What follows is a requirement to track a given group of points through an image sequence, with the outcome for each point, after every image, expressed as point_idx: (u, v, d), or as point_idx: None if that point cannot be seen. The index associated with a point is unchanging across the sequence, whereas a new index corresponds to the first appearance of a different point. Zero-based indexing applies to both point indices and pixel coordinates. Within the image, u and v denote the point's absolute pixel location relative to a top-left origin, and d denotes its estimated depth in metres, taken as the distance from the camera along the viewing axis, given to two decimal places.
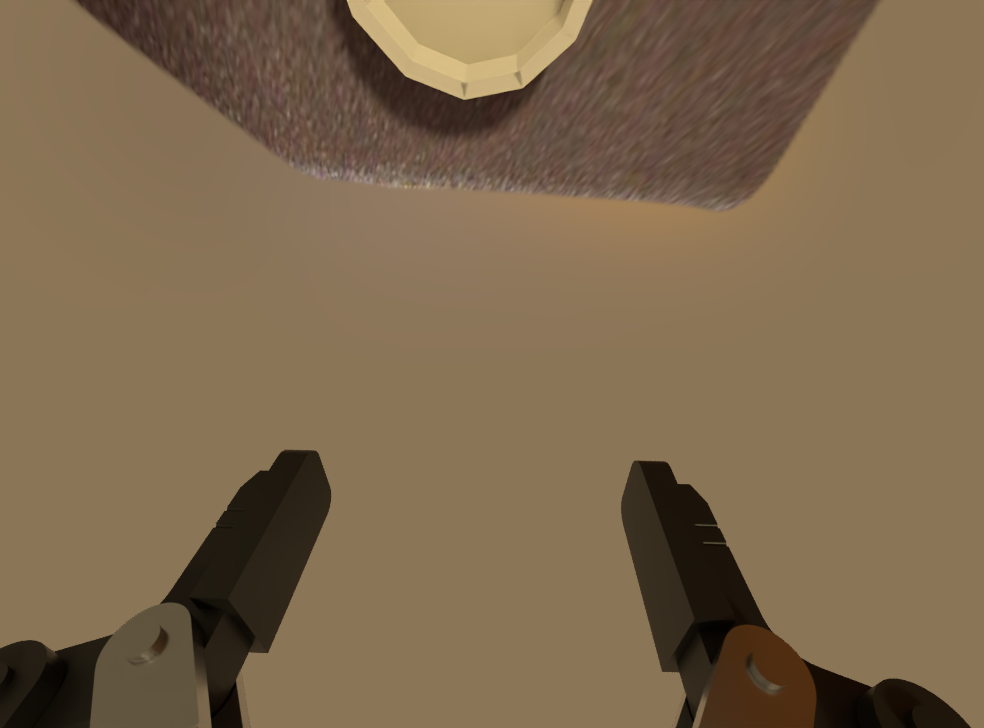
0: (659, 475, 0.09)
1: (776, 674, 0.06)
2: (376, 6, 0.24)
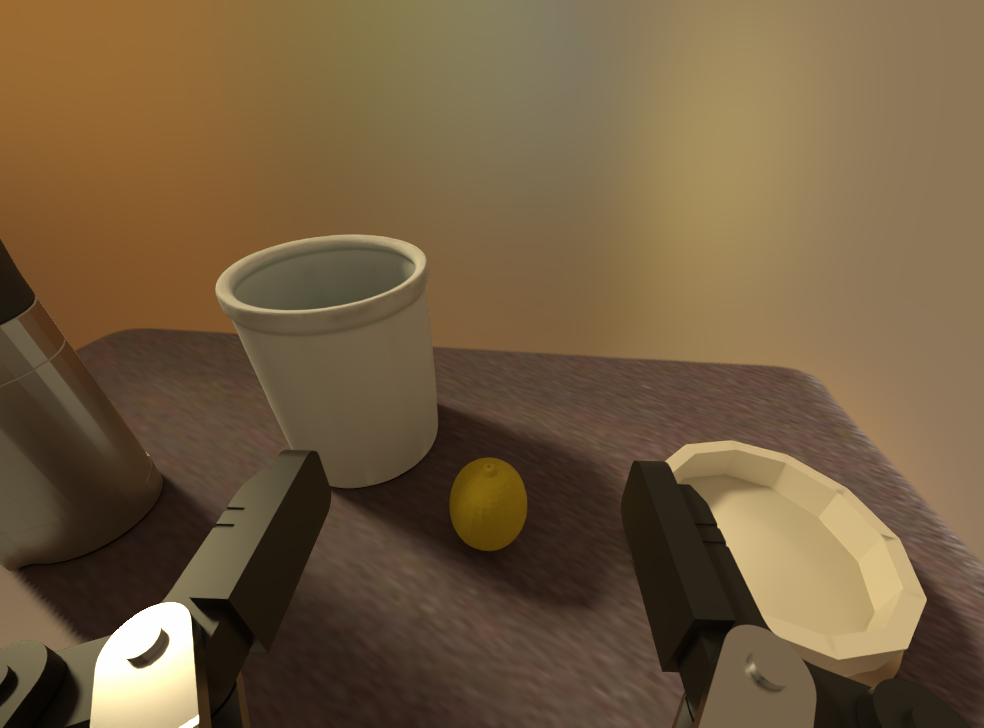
0: (659, 475, 0.09)
1: (776, 674, 0.06)
2: None
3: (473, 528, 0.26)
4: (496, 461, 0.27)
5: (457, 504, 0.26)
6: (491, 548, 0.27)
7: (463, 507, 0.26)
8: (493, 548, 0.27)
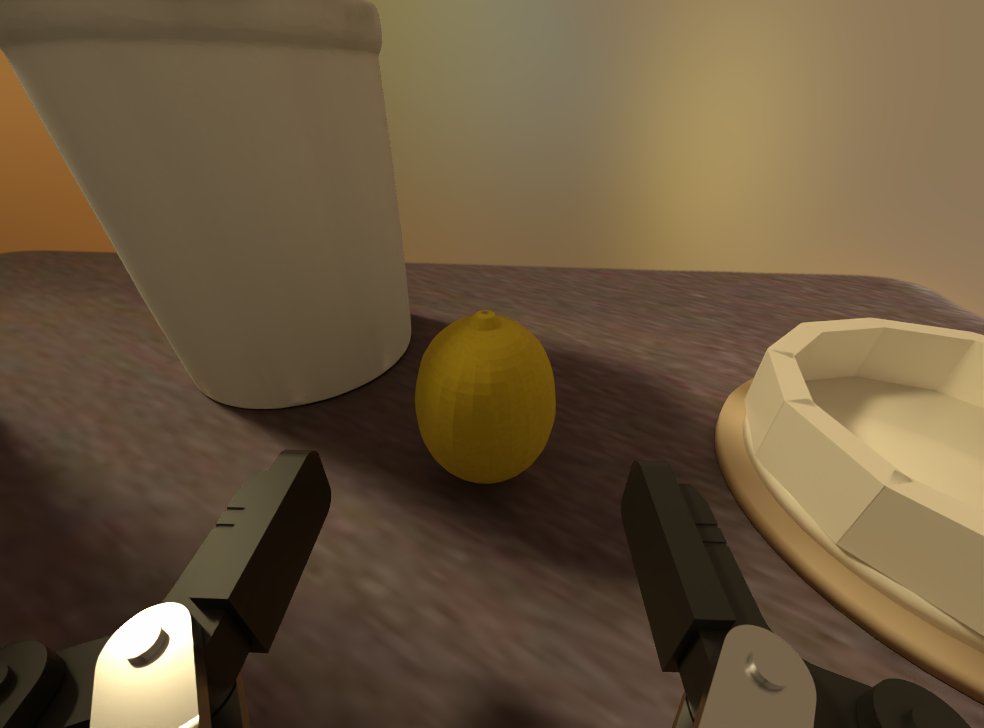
0: (659, 475, 0.09)
1: (776, 674, 0.06)
2: None
3: (457, 428, 0.13)
4: (499, 315, 0.15)
5: (425, 386, 0.14)
6: (492, 473, 0.14)
7: (438, 388, 0.13)
8: (496, 474, 0.15)
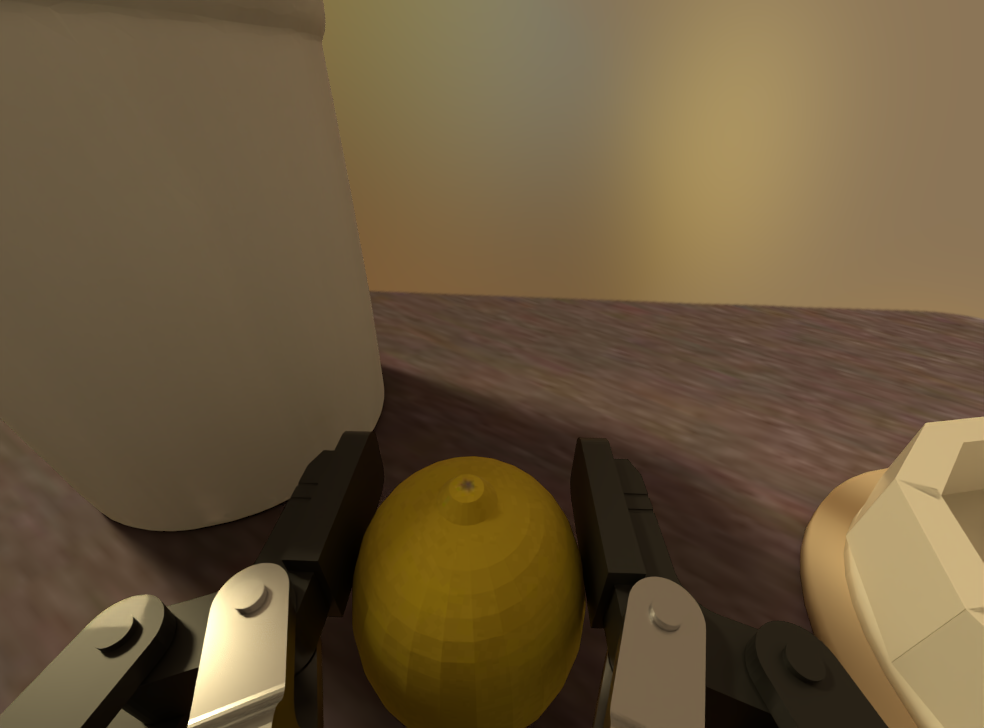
0: (597, 450, 0.10)
1: (672, 616, 0.06)
2: None
3: (414, 705, 0.07)
4: (493, 467, 0.09)
5: (361, 614, 0.08)
6: None
7: (379, 632, 0.07)
8: None
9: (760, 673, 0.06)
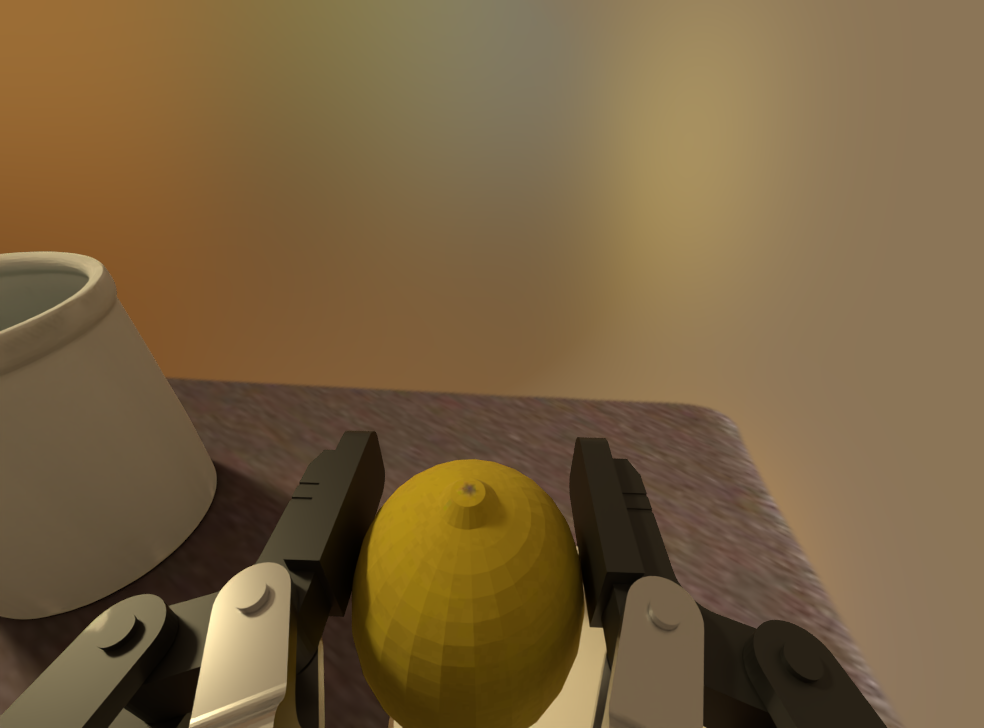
0: (596, 449, 0.10)
1: (670, 615, 0.06)
2: None
3: (413, 708, 0.07)
4: (493, 471, 0.09)
5: (361, 616, 0.08)
6: None
7: (380, 635, 0.07)
8: None
9: (758, 672, 0.06)
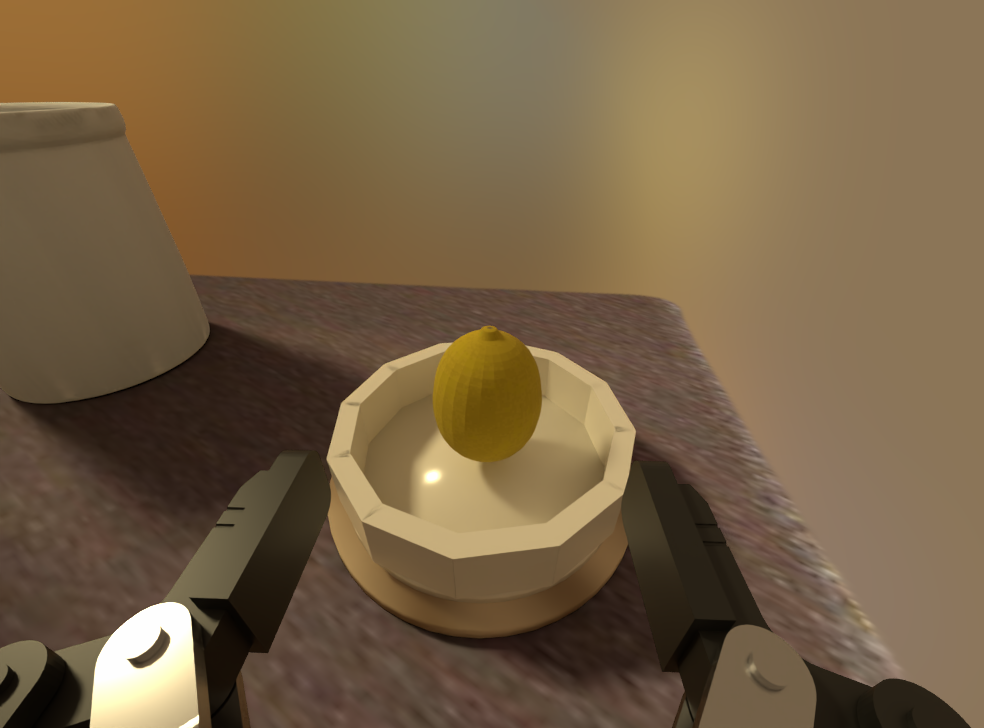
0: (659, 475, 0.09)
1: (776, 674, 0.06)
2: None
3: (468, 414, 0.18)
4: (498, 330, 0.20)
5: (444, 383, 0.18)
6: (493, 451, 0.19)
7: (454, 384, 0.18)
8: (496, 451, 0.19)
9: (875, 727, 0.06)
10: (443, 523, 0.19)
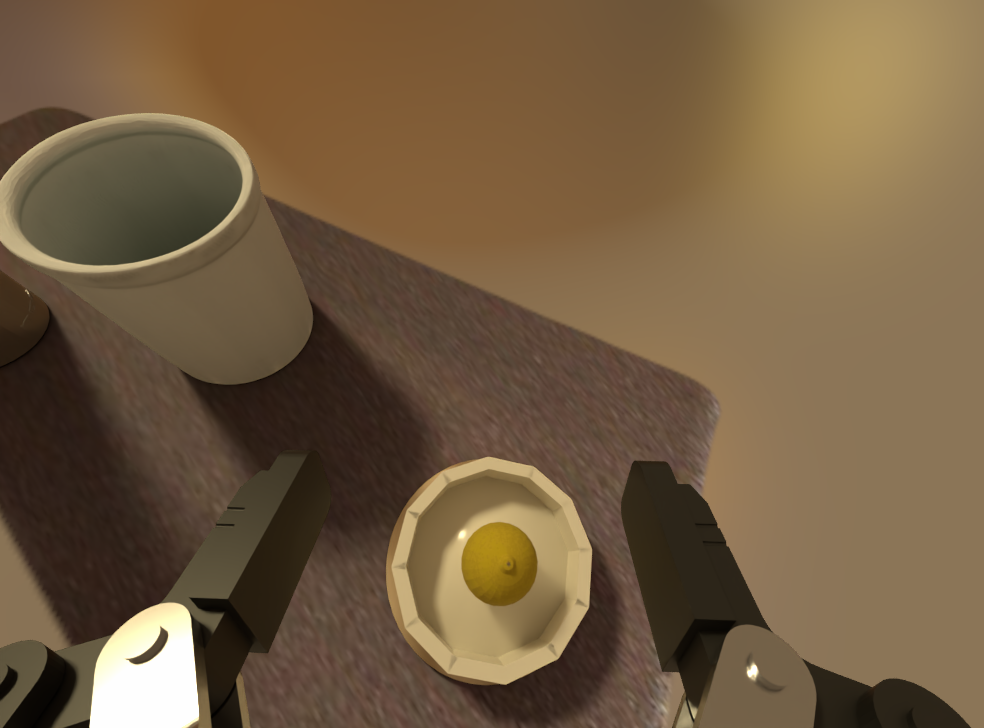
0: (659, 475, 0.09)
1: (776, 674, 0.06)
2: (506, 659, 0.29)
3: (479, 598, 0.28)
4: (517, 549, 0.27)
5: (469, 576, 0.27)
6: None
7: (475, 585, 0.27)
8: None
9: None
10: (451, 608, 0.31)
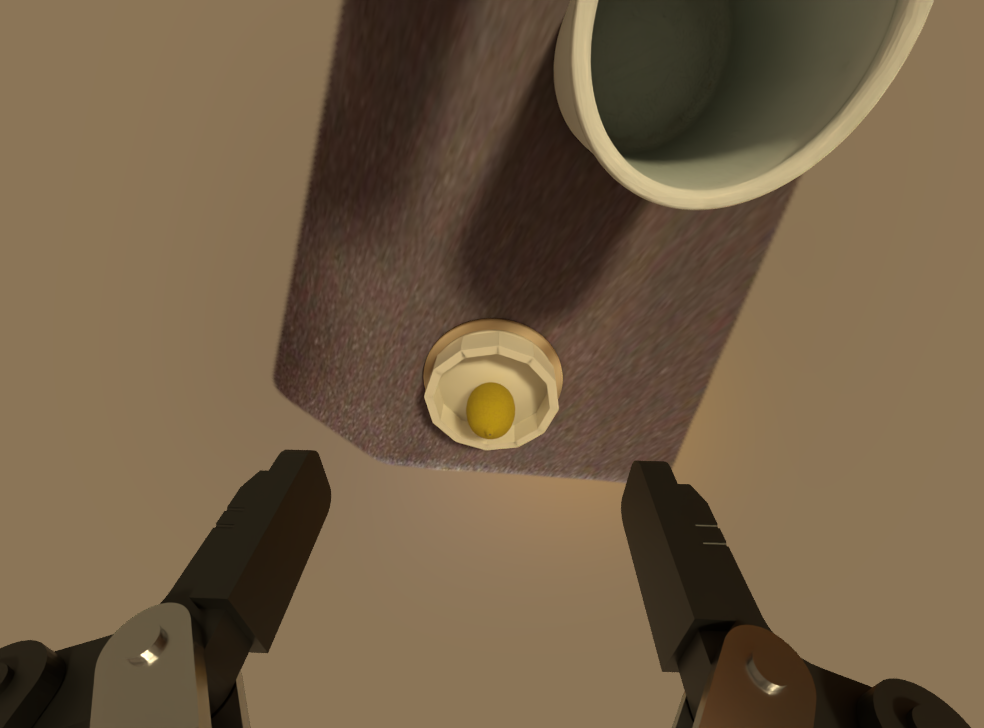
0: (659, 475, 0.09)
1: (776, 674, 0.06)
2: (444, 414, 0.49)
3: (466, 410, 0.44)
4: (500, 433, 0.43)
5: (475, 407, 0.43)
6: None
7: (471, 412, 0.43)
8: None
9: (875, 727, 0.06)
10: (456, 374, 0.48)
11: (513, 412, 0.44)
